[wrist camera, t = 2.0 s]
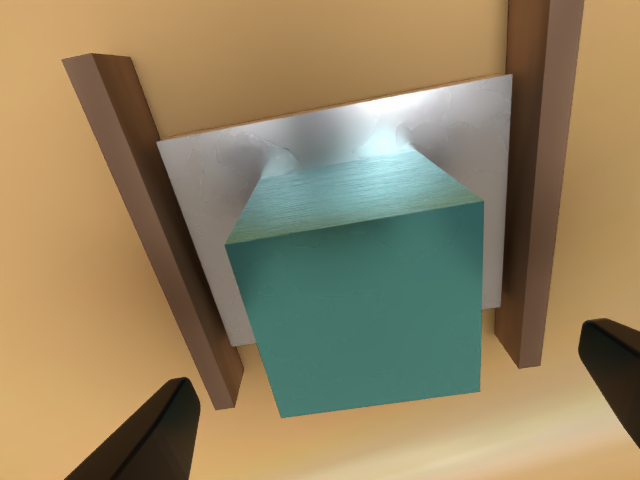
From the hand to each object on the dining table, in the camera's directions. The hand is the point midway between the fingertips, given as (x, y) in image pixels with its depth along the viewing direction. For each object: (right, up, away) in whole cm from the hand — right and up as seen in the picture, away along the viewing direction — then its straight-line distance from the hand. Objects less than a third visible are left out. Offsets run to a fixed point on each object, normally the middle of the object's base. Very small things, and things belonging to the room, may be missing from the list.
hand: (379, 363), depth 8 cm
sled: (0, +4, +8) cm, 9 cm away
